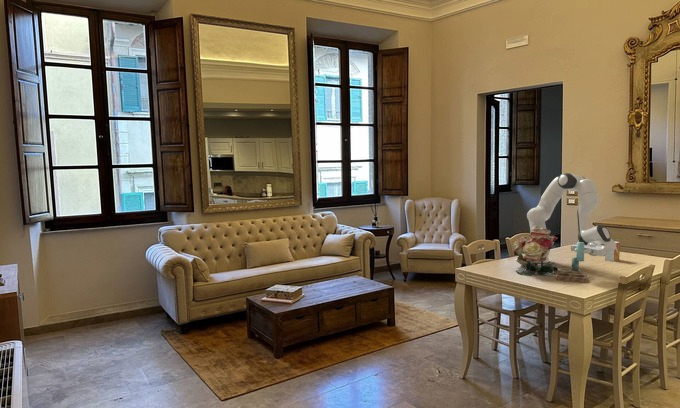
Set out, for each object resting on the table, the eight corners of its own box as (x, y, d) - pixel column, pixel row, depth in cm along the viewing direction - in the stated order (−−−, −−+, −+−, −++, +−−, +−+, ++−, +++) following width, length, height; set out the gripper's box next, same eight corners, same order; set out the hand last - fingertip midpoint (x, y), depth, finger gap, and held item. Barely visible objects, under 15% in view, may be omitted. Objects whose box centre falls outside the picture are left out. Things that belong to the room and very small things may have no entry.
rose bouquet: (511, 266, 324) (511, 223, 321) (558, 269, 313) (558, 224, 310) (509, 275, 300) (510, 228, 297) (560, 278, 289) (561, 229, 286)
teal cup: (558, 274, 299) (559, 258, 298) (559, 272, 305) (560, 255, 304) (580, 276, 293) (580, 259, 292) (580, 273, 299) (581, 257, 298)
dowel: (576, 261, 282) (576, 242, 281) (576, 259, 285) (576, 241, 284) (583, 261, 280) (584, 243, 279) (584, 260, 283) (584, 242, 283)
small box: (613, 261, 332) (614, 243, 331) (604, 260, 337) (605, 242, 336) (619, 260, 336) (620, 241, 335) (610, 258, 342) (611, 240, 341)
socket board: (556, 279, 285) (556, 275, 285) (558, 276, 294) (558, 272, 294) (586, 282, 278) (586, 278, 277) (587, 278, 286) (587, 274, 286)
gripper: (579, 241, 297) (564, 243, 291) (610, 245, 278) (595, 248, 272) (579, 251, 297) (564, 253, 291) (610, 256, 279) (594, 259, 273)
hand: (579, 250), depth 282 cm, fingers closed on dowel, 4 cm apart
